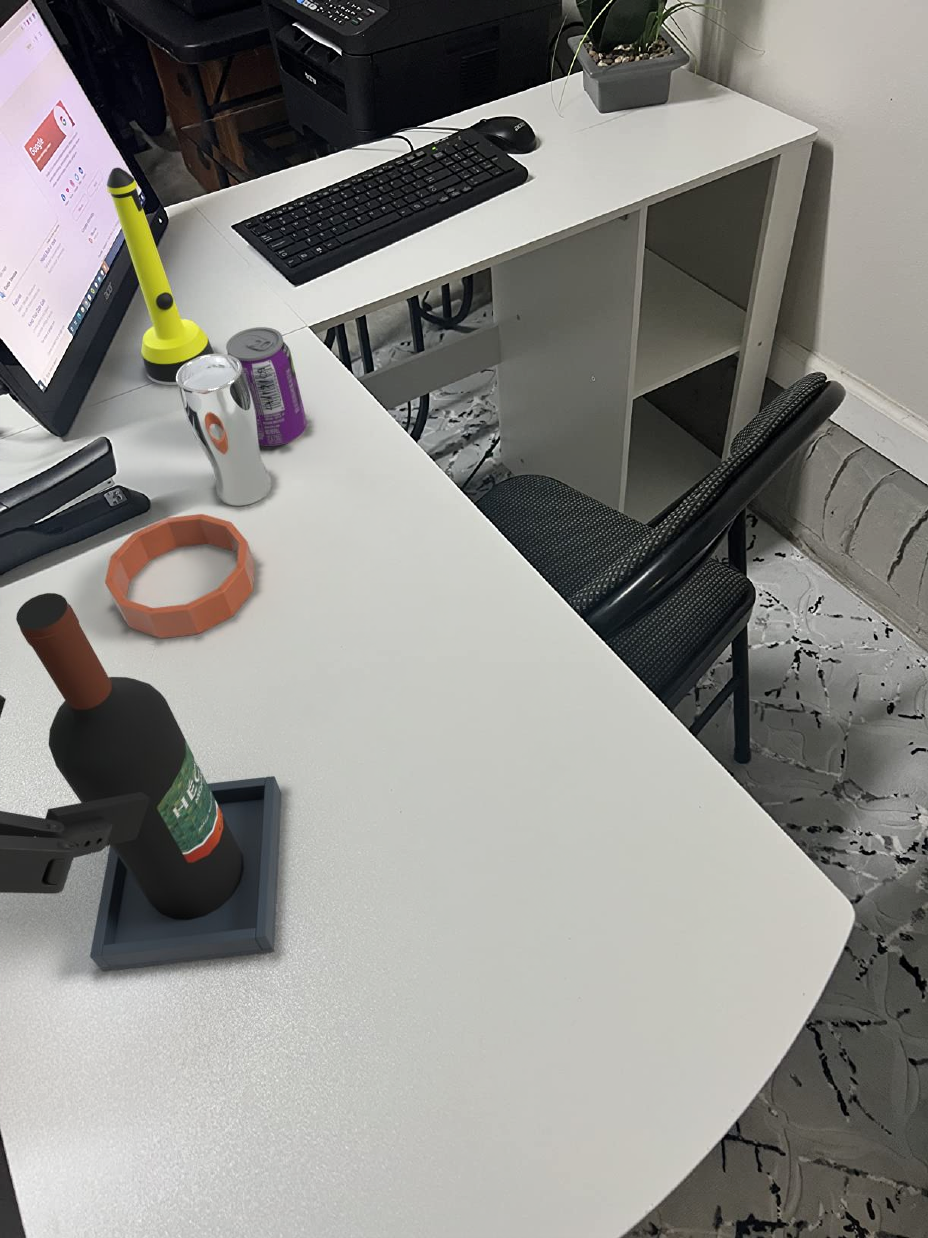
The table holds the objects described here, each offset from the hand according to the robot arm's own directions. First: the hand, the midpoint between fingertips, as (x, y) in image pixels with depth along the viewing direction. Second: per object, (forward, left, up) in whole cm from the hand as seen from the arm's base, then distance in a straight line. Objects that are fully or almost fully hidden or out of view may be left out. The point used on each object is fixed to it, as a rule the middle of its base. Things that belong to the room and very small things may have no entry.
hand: (65, 762), depth 59 cm
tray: (+1, +3, -19) cm, 20 cm away
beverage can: (-24, +54, -20) cm, 62 cm away
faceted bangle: (-19, +29, -19) cm, 40 cm away
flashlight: (-44, +62, -20) cm, 78 cm away
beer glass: (-22, +44, -20) cm, 53 cm away
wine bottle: (+1, +3, -19) cm, 19 cm away
